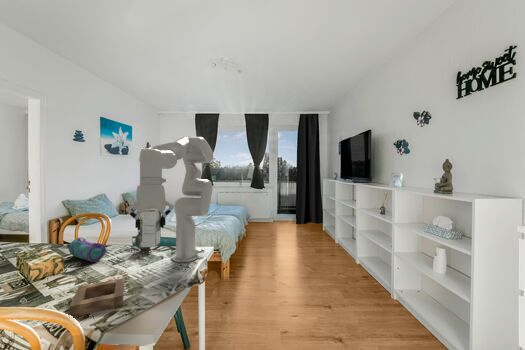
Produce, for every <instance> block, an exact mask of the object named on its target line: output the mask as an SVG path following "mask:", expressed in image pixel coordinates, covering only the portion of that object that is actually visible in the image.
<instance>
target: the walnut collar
mask: <svg viewBox="0 0 525 350" xmlns="http://www.w3.org/2000/svg"><path fill="white" fill-rule="evenodd" d="M124 292H125V278H123V277H122V278H117V279H113V280H112V279H111V280H107V281H102V282H97V283H90V284H89V283H88V284H85V285H79V286H78V287H77V290H76V291H75V293H74V296H73V298H72V301H71V303H70V305H69V316H70V315H71V316H73V317H72V318H75V317H80V316H85V315H88V314H89V315H90V314H94V313H98V312H102V311H106V310H110V309H114V308H119V307H122V306H124V294H125V293H124ZM106 294H108V295H106ZM92 297H93V298H92Z"/></svg>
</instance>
